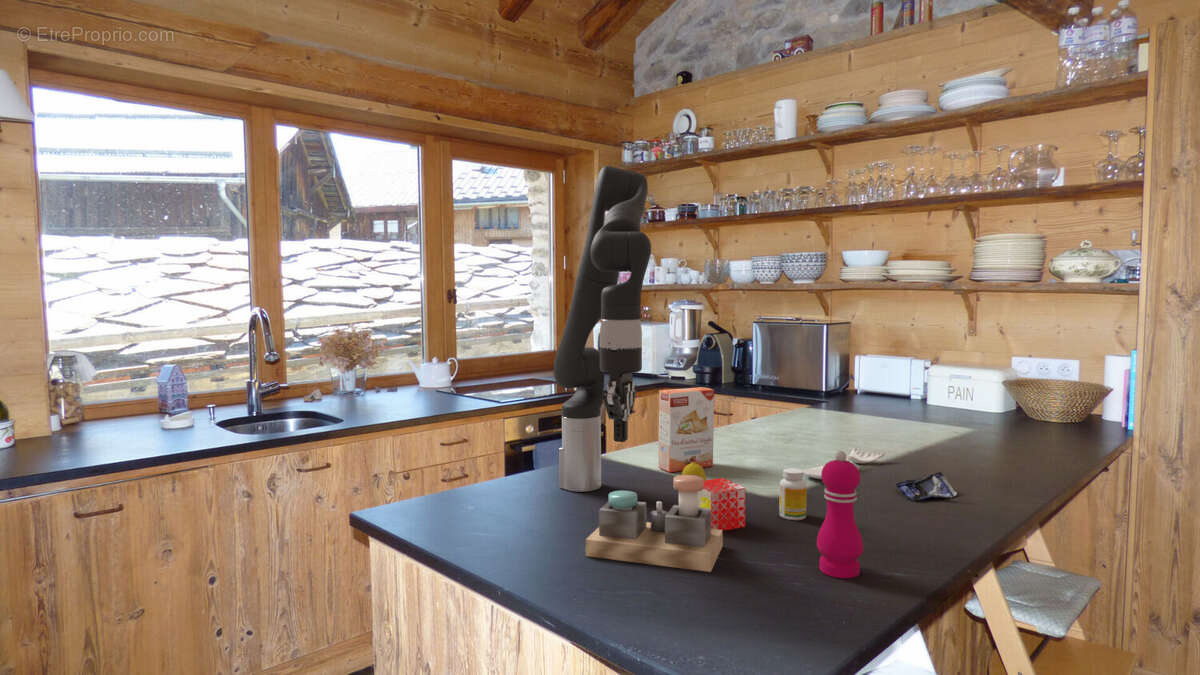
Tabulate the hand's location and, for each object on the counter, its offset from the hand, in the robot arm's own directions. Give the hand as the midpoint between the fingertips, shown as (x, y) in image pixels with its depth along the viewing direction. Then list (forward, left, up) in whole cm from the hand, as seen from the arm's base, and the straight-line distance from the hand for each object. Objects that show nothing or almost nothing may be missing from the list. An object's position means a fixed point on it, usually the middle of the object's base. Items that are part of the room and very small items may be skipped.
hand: (620, 440), depth 122 cm
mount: (+6, 0, -20) cm, 21 cm away
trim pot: (+6, +3, -17) cm, 18 cm away
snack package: (+56, +51, -20) cm, 78 cm away
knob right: (+12, 0, -13) cm, 18 cm away
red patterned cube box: (+14, +18, -20) cm, 31 cm away
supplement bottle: (+28, +27, -20) cm, 44 cm away
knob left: (0, 0, -17) cm, 17 cm away
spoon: (+38, +69, -20) cm, 81 cm away
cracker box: (-1, +59, -20) cm, 62 cm away
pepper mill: (+37, +1, -20) cm, 42 cm away
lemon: (+6, +34, -20) cm, 40 cm away
